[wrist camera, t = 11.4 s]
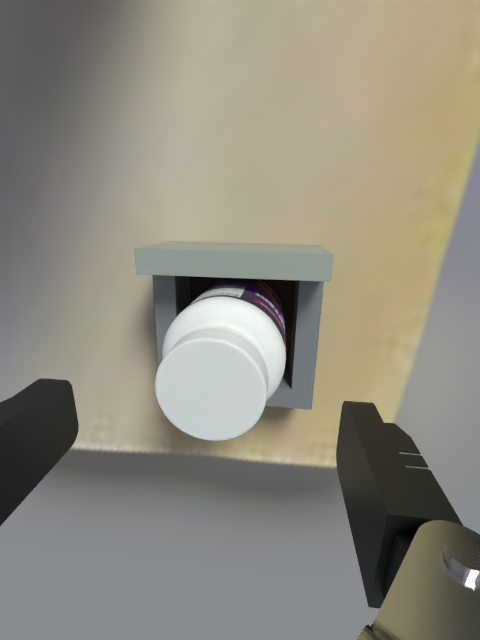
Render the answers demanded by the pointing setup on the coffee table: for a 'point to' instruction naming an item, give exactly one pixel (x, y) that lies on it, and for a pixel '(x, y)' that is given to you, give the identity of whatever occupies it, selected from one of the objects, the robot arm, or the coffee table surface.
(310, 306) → the dock
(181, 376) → the pill bottle
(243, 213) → the coffee table surface
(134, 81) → the coffee table surface
